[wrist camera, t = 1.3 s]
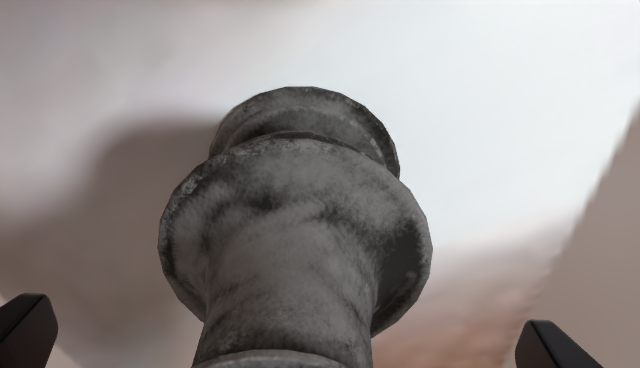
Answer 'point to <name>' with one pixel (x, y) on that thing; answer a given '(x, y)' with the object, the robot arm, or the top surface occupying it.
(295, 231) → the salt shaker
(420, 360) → the top surface
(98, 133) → the top surface
